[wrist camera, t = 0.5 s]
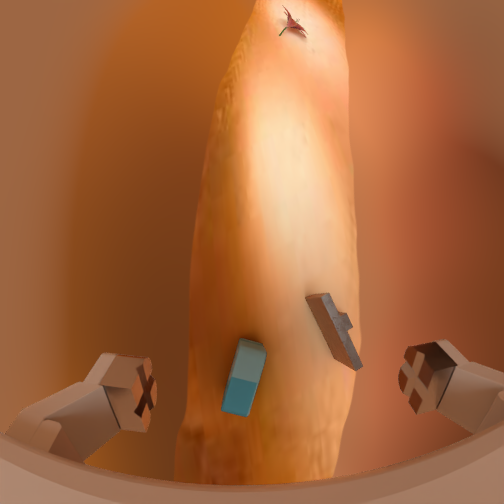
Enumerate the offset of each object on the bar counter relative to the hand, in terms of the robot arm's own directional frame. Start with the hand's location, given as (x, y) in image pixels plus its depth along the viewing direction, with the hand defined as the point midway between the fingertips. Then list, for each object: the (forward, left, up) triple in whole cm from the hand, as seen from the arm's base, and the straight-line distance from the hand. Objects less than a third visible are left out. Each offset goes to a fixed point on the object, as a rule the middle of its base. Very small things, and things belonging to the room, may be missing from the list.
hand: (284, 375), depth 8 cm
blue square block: (-10, +6, -50) cm, 51 cm away
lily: (+63, -45, -50) cm, 93 cm away
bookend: (-10, -13, -50) cm, 52 cm away
